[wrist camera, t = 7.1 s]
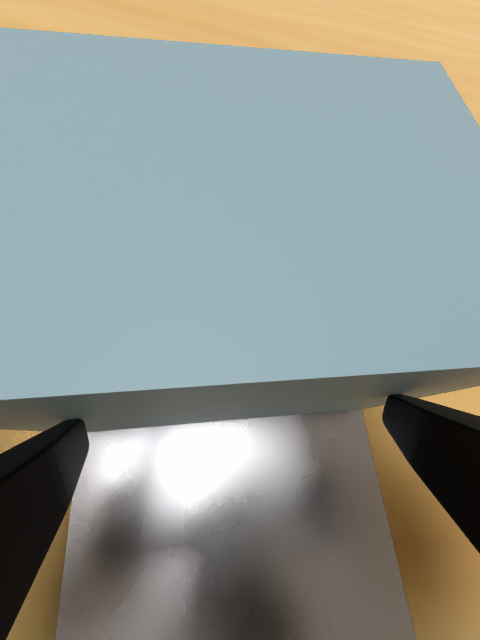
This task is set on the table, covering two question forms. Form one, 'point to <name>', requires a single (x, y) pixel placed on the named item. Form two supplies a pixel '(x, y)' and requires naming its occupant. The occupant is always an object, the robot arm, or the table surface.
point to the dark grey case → (232, 535)
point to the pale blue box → (229, 232)
